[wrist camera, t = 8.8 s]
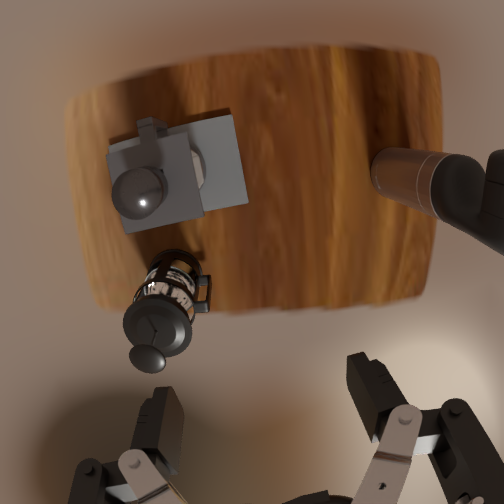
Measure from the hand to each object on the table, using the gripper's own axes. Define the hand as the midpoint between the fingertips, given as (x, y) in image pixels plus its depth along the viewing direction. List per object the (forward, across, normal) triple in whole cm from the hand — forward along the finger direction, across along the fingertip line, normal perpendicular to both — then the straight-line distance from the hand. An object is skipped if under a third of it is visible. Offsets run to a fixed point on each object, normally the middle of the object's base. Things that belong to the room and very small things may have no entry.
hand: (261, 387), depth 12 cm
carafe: (+37, +8, -9) cm, 39 cm away
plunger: (+30, +8, -8) cm, 32 cm away
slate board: (+38, +8, -8) cm, 39 cm away
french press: (+38, +12, +9) cm, 41 cm away
